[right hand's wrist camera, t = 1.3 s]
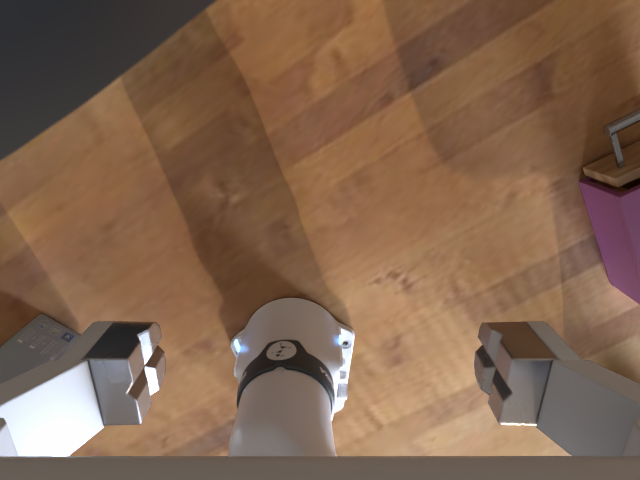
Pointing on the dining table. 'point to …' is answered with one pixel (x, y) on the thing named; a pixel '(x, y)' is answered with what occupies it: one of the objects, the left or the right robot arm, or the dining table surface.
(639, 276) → the cabinet
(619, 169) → the drawer
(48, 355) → the hard drive box
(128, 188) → the dining table surface
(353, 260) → the dining table surface
